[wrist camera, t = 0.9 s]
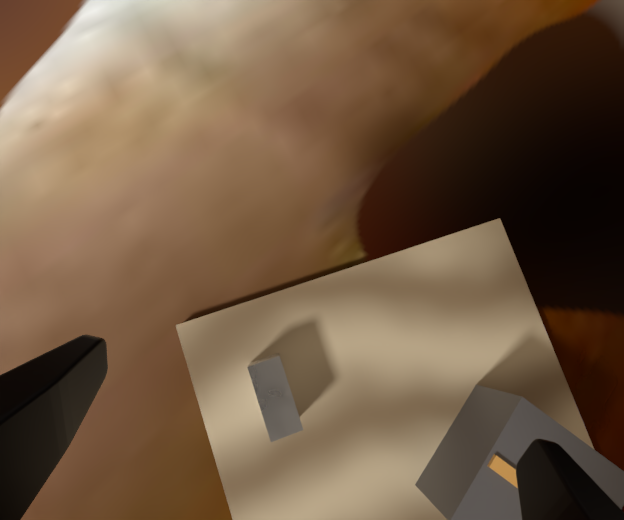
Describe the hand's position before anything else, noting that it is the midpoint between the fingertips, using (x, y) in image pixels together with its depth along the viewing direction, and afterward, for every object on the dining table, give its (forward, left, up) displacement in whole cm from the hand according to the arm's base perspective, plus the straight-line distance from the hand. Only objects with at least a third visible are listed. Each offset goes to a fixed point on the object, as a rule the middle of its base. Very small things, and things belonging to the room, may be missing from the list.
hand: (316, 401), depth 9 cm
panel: (-5, -5, -16) cm, 17 cm away
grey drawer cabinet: (-9, -9, -15) cm, 20 cm away
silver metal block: (-1, +1, -15) cm, 15 cm away
